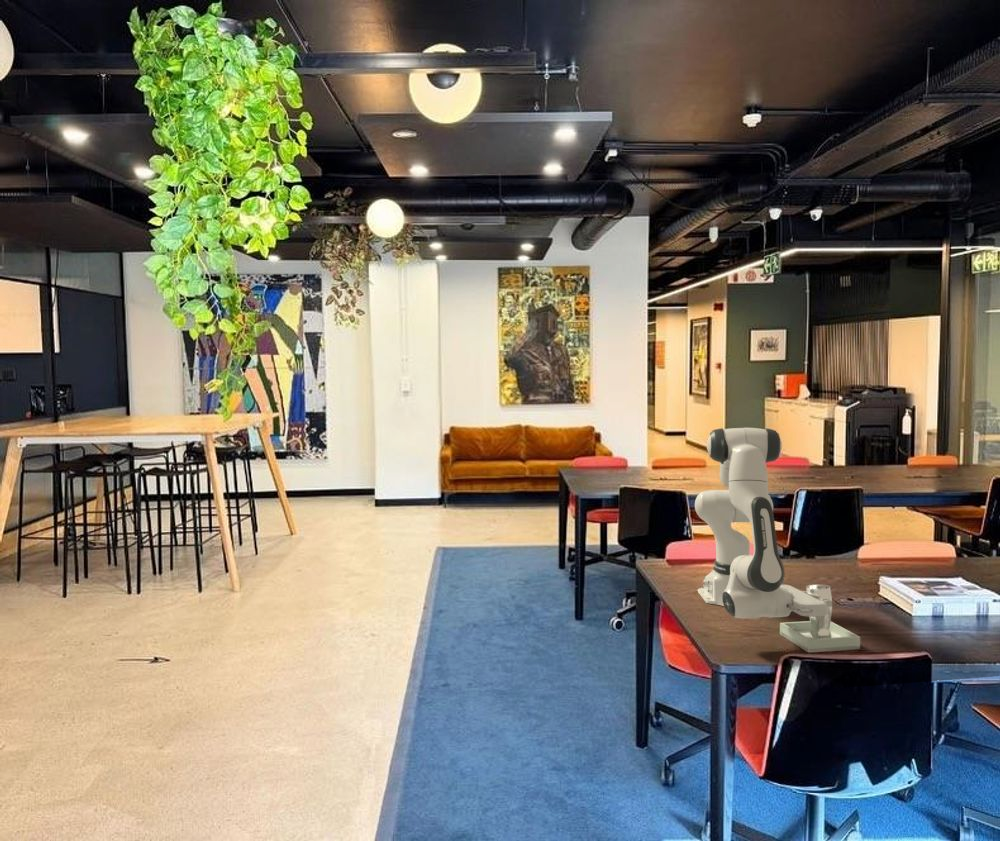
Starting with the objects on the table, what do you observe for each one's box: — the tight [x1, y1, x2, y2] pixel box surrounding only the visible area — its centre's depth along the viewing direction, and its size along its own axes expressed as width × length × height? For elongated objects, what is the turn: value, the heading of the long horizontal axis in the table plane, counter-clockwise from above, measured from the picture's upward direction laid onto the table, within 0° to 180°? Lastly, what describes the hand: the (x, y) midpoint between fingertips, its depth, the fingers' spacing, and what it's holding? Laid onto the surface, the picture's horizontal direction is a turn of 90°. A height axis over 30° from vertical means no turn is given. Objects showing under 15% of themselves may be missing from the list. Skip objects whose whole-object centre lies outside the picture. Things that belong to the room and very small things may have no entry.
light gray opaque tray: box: [779, 620, 861, 653], centre depth 211 cm, size 15×16×4 cm
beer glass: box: [805, 583, 833, 639], centre depth 211 cm, size 7×7×15 cm
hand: (822, 599), depth 211 cm, fingers open, 6 cm apart
